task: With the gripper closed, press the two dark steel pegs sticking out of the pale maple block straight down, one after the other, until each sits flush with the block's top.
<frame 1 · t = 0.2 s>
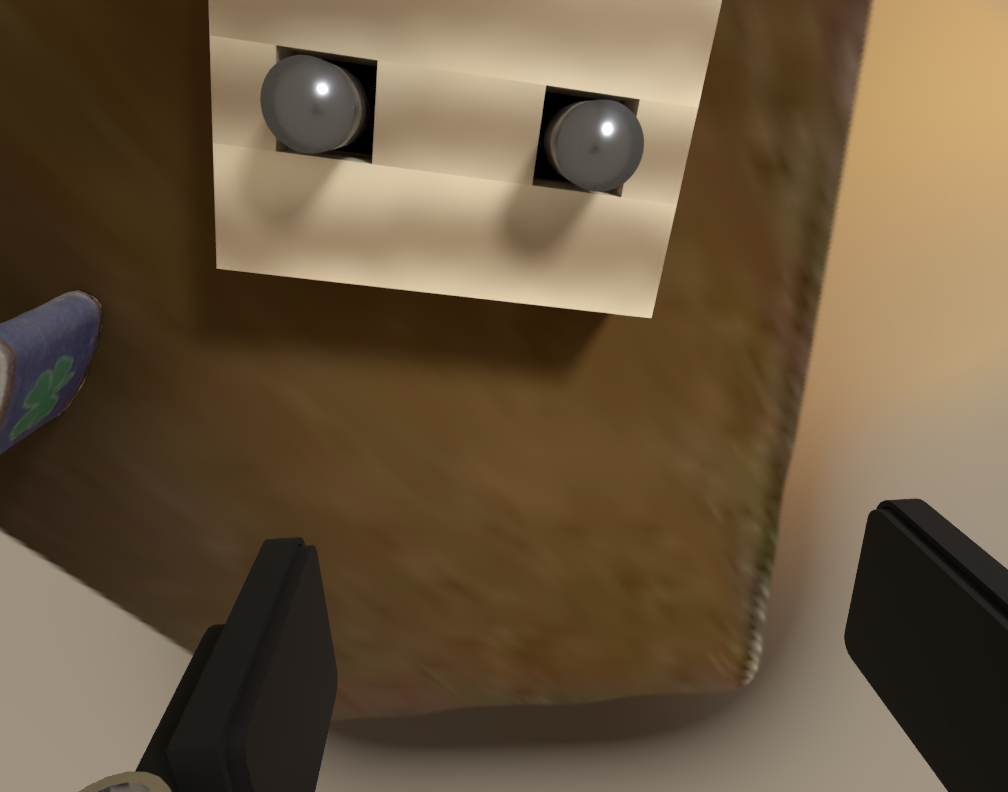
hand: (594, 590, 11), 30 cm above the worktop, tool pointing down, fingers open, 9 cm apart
flask: (67, 356, 40), on the worktop
peg a: (320, 106, 29), point 7 cm above the worktop, slide at 4.0 cm
maple block: (458, 123, 36), on the worktop
peg b: (589, 144, 30), point 7 cm above the worktop, slide at 4.0 cm
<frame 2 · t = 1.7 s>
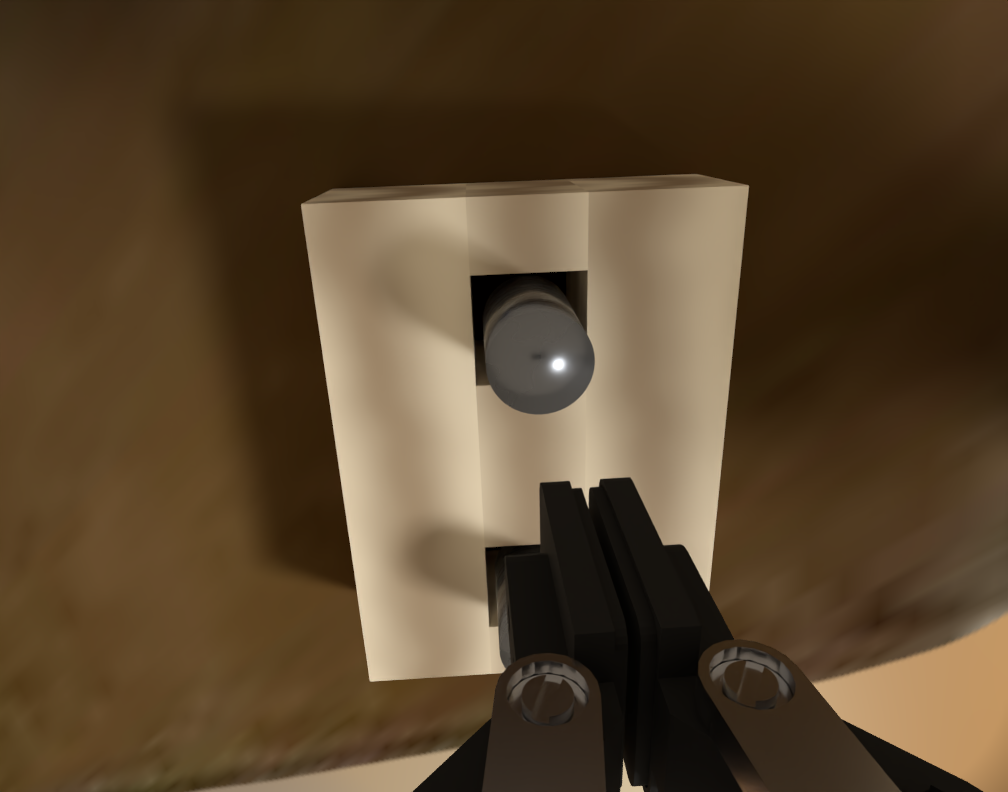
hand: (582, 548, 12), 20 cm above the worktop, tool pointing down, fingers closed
peg a: (533, 339, 25), point 7 cm above the worktop, slide at 4.0 cm
maple block: (522, 411, 34), on the worktop
peg b: (538, 603, 29), point 7 cm above the worktop, slide at 4.0 cm
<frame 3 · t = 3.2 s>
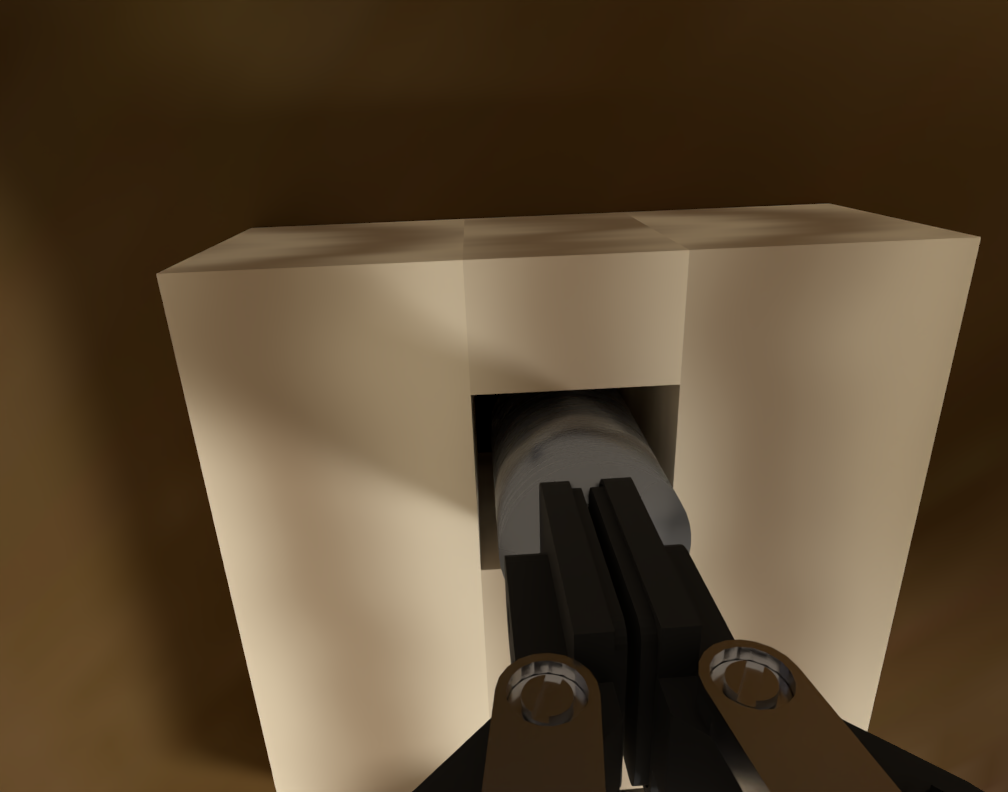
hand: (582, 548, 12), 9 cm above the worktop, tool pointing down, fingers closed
peg a: (573, 477, 15), point 6 cm above the worktop, slide at 2.5 cm, touching gripper
maple block: (548, 549, 23), on the worktop
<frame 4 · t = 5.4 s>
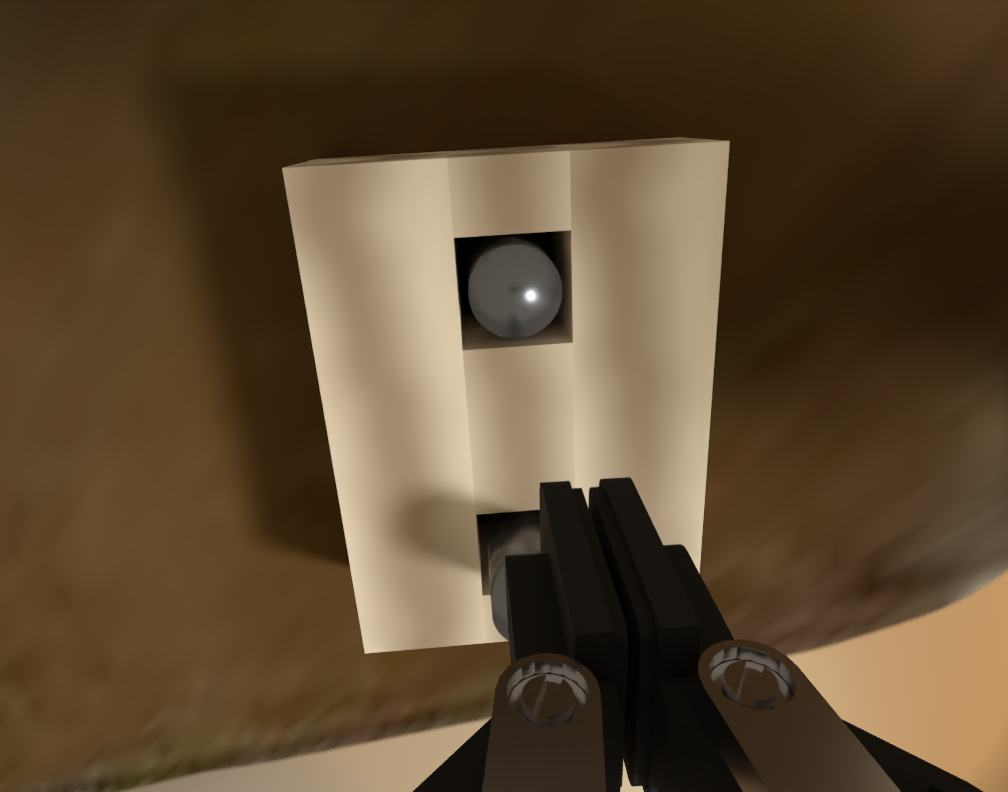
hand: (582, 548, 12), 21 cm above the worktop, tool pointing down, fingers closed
peg a: (510, 277, 28), point 3 cm above the worktop, slide at 0.2 cm
maple block: (511, 381, 34), on the worktop
peg b: (530, 569, 29), point 7 cm above the worktop, slide at 4.0 cm
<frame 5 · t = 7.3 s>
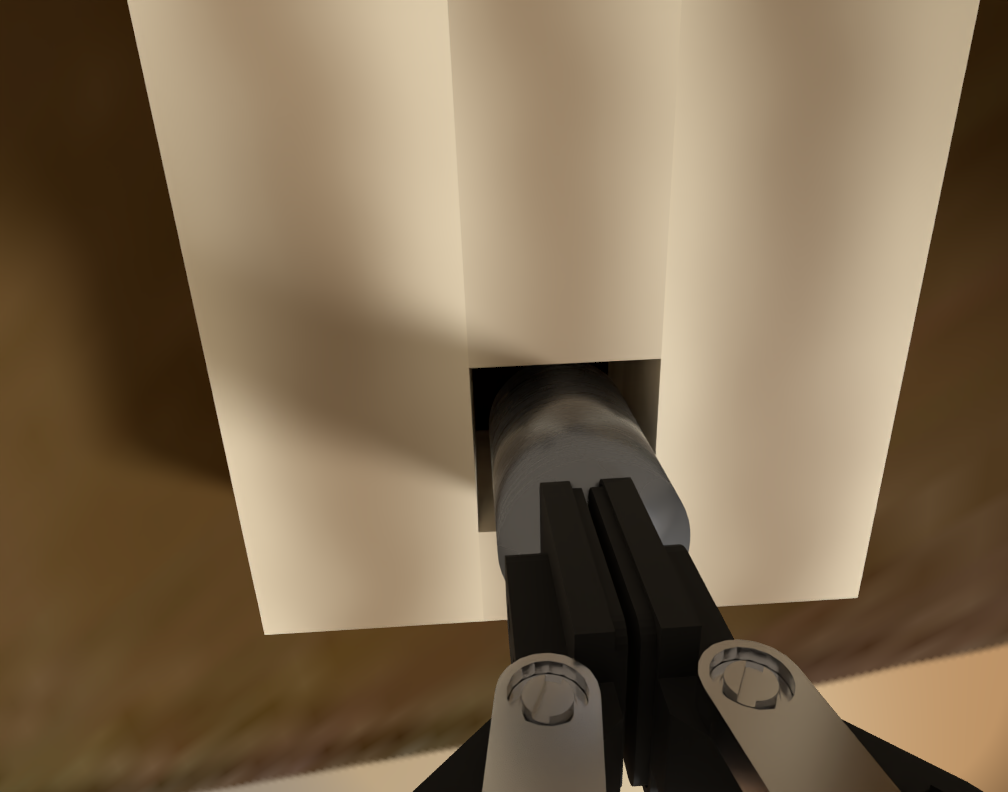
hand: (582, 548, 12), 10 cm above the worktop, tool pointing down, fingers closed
maple block: (537, 170, 19), on the worktop
peg b: (572, 474, 15), point 7 cm above the worktop, slide at 4.0 cm, touching gripper
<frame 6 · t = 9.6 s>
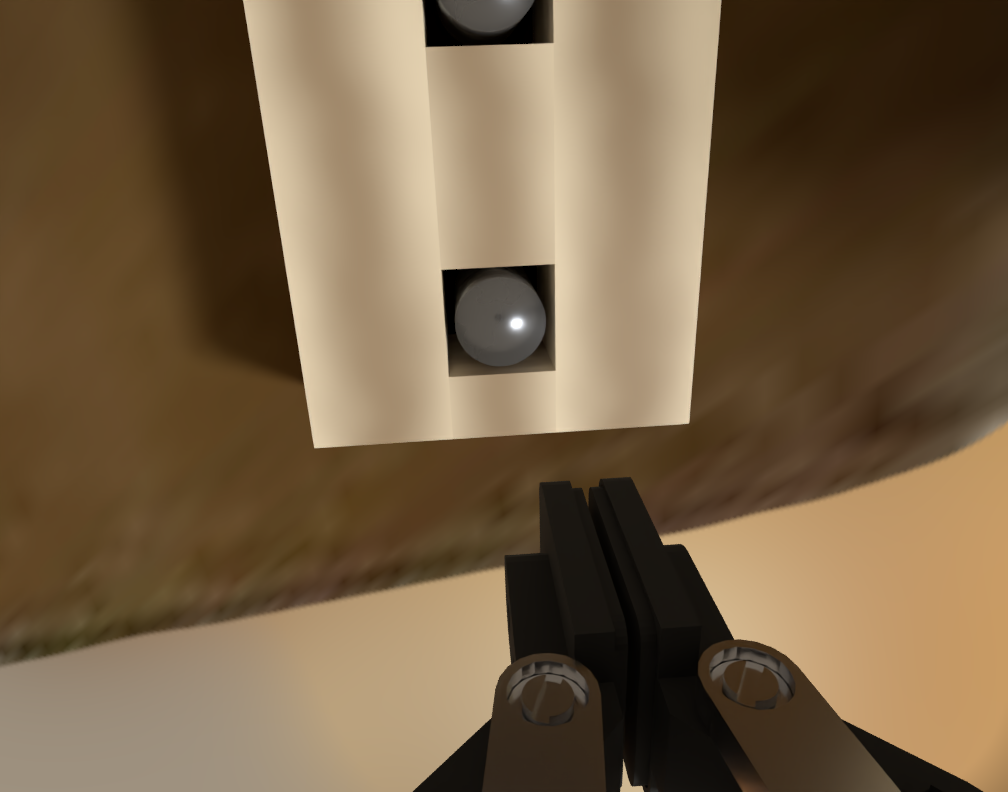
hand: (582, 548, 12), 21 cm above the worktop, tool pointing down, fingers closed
maple block: (485, 155, 30), on the worktop
peg b: (496, 305, 29), point 3 cm above the worktop, slide at 0.2 cm
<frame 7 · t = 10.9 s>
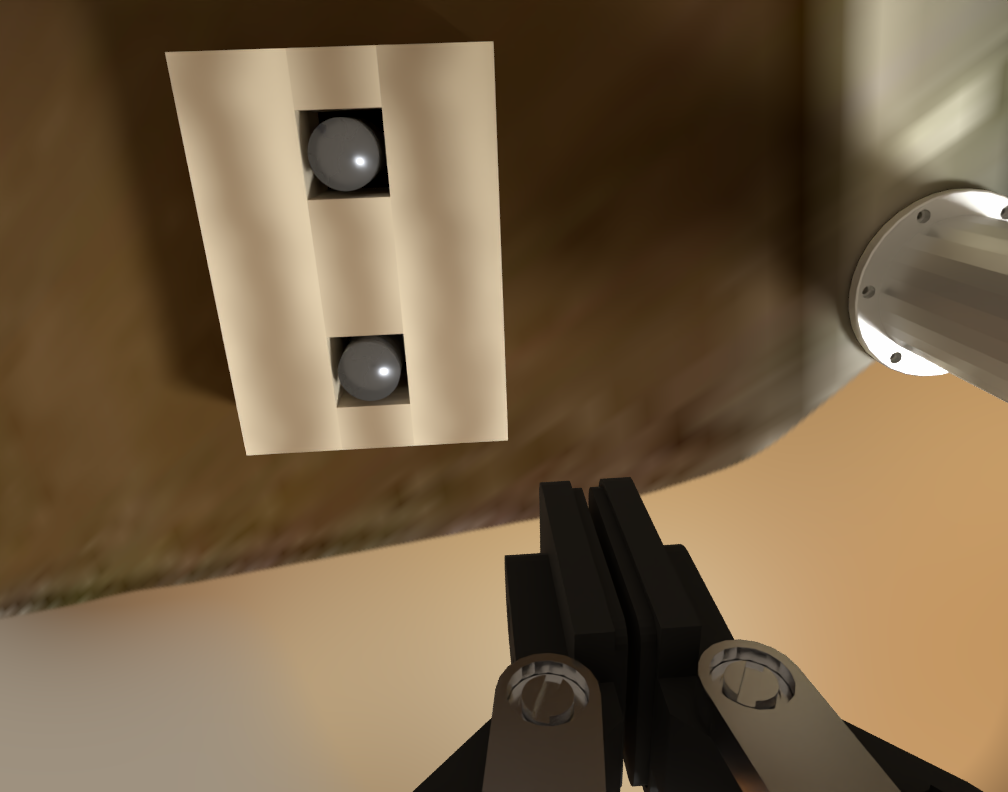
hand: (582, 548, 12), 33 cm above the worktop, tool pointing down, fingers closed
peg a: (351, 152, 37), point 3 cm above the worktop, slide at 0.2 cm
maple block: (370, 250, 43), on the worktop
peg b: (374, 357, 42), point 3 cm above the worktop, slide at 0.2 cm
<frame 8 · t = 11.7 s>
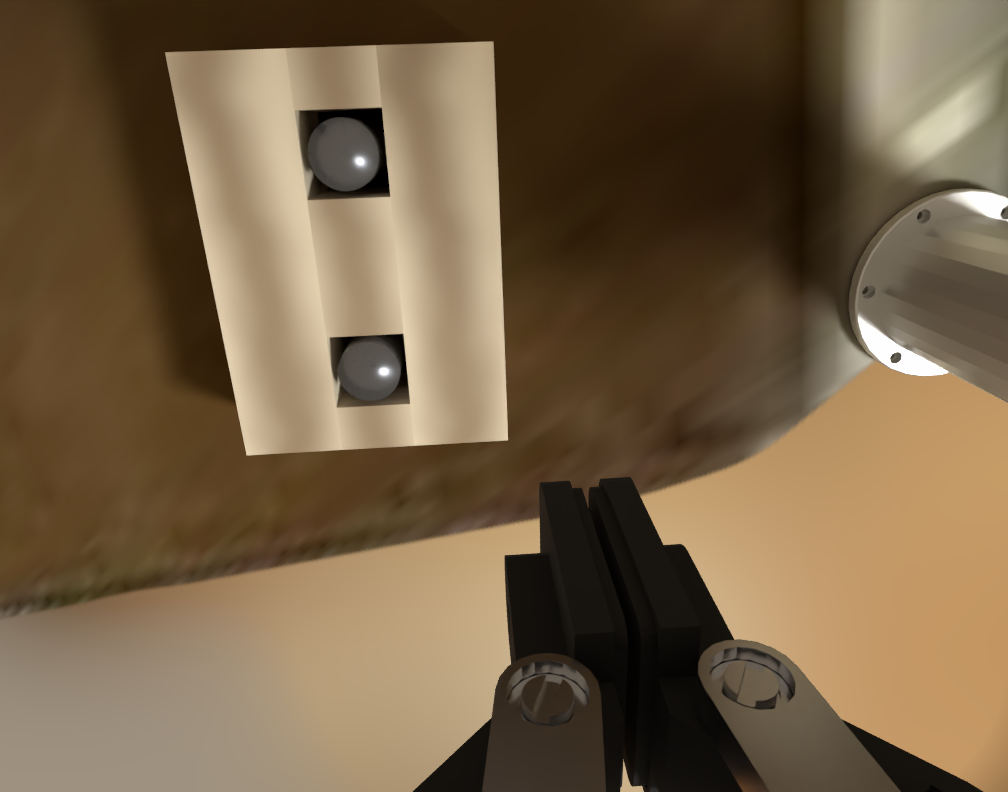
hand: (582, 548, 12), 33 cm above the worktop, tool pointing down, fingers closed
peg a: (351, 152, 37), point 3 cm above the worktop, slide at 0.2 cm
maple block: (370, 250, 43), on the worktop
peg b: (374, 357, 42), point 3 cm above the worktop, slide at 0.2 cm
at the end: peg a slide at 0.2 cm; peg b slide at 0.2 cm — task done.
